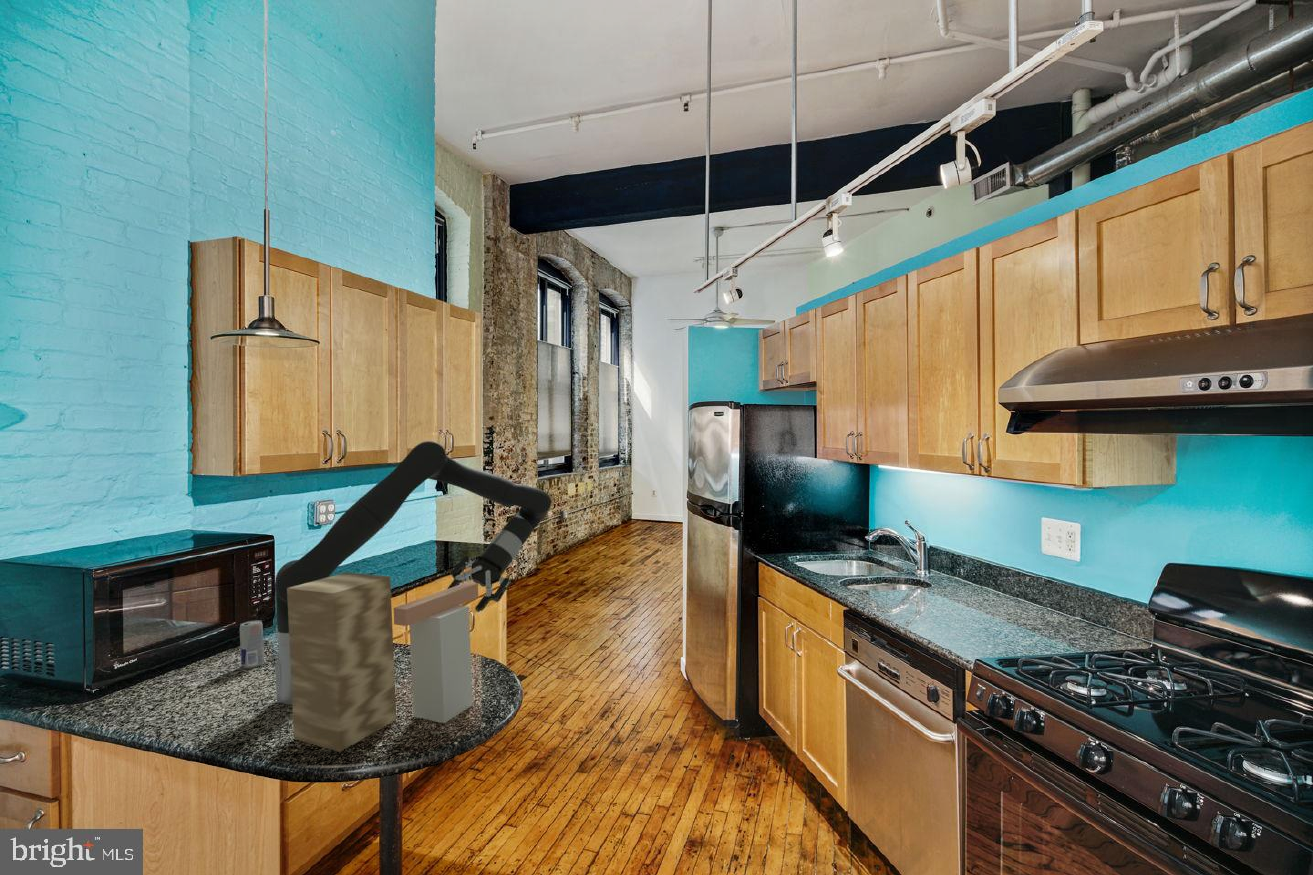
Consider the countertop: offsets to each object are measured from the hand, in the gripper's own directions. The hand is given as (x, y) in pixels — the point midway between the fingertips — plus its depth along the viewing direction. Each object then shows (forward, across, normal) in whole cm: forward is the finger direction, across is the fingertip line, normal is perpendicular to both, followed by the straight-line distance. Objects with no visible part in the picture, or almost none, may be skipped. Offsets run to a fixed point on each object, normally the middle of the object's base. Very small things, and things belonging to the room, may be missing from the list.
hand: (462, 602), depth 148 cm
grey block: (+22, +11, +4) cm, 25 cm away
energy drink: (+33, -54, +37) cm, 73 cm away
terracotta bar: (+7, +1, -10) cm, 13 cm away
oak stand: (+35, -4, +1) cm, 35 cm away
